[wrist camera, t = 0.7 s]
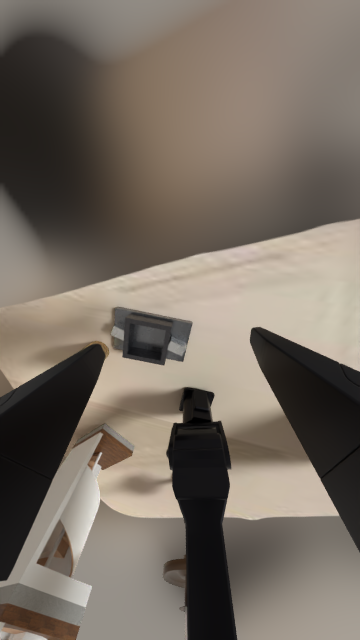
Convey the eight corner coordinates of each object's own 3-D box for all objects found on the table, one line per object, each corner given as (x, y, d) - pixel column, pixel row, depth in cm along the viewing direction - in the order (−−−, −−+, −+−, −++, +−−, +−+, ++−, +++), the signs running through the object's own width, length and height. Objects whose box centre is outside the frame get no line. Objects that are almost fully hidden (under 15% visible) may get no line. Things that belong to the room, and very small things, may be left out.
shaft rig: (183, 358, 28) (182, 370, 25) (116, 345, 28) (106, 355, 24) (192, 321, 25) (192, 329, 22) (117, 306, 25) (107, 312, 22)
